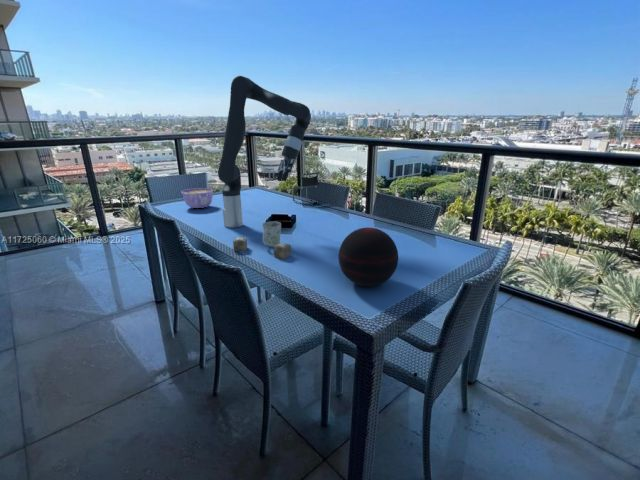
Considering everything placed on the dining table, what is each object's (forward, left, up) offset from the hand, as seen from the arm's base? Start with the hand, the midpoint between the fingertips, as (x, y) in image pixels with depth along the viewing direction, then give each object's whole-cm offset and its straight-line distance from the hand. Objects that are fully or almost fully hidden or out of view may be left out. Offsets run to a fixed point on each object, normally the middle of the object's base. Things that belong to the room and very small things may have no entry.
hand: (280, 180), depth 155 cm
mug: (+1, -16, -28) cm, 32 cm away
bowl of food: (-76, +38, -28) cm, 89 cm away
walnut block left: (-10, -24, -27) cm, 38 cm away
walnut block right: (+11, -26, -27) cm, 39 cm away
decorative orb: (+49, -41, -28) cm, 70 cm away
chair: (-12, +72, -28) cm, 78 cm away
